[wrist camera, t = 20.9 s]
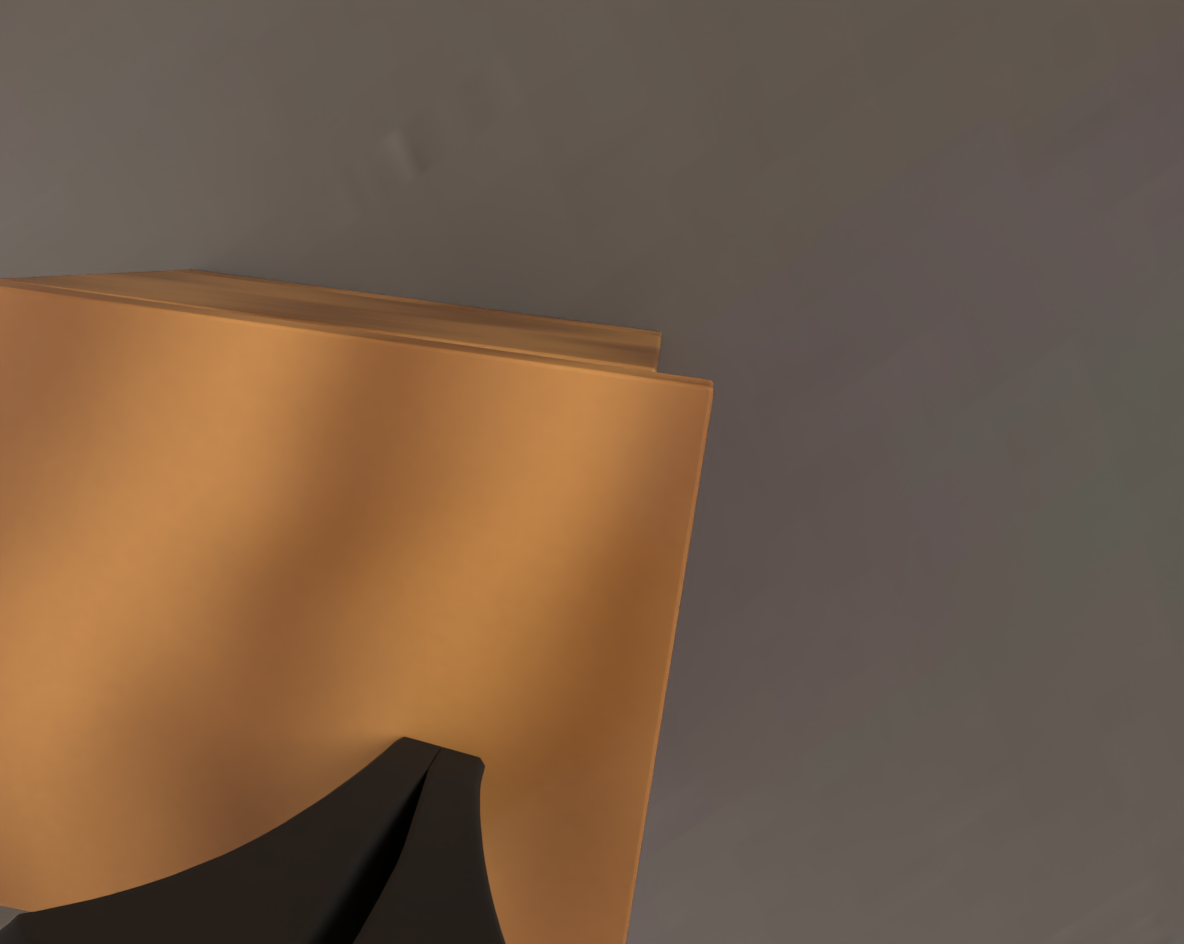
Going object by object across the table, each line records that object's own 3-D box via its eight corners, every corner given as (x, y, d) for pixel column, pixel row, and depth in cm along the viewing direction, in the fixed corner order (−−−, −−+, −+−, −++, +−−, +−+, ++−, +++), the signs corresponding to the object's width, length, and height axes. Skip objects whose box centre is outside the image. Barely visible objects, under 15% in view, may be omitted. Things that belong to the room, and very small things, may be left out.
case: (662, 332, 19) (657, 367, 13) (597, 781, 21) (571, 970, 16) (190, 268, 19) (-7, 278, 14) (184, 714, 22) (17, 875, 16)
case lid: (714, 379, 13) (715, 387, 12) (615, 998, 15) (611, 1033, 15) (-9, 278, 14) (-46, 280, 13) (15, 877, 16) (-14, 904, 16)
